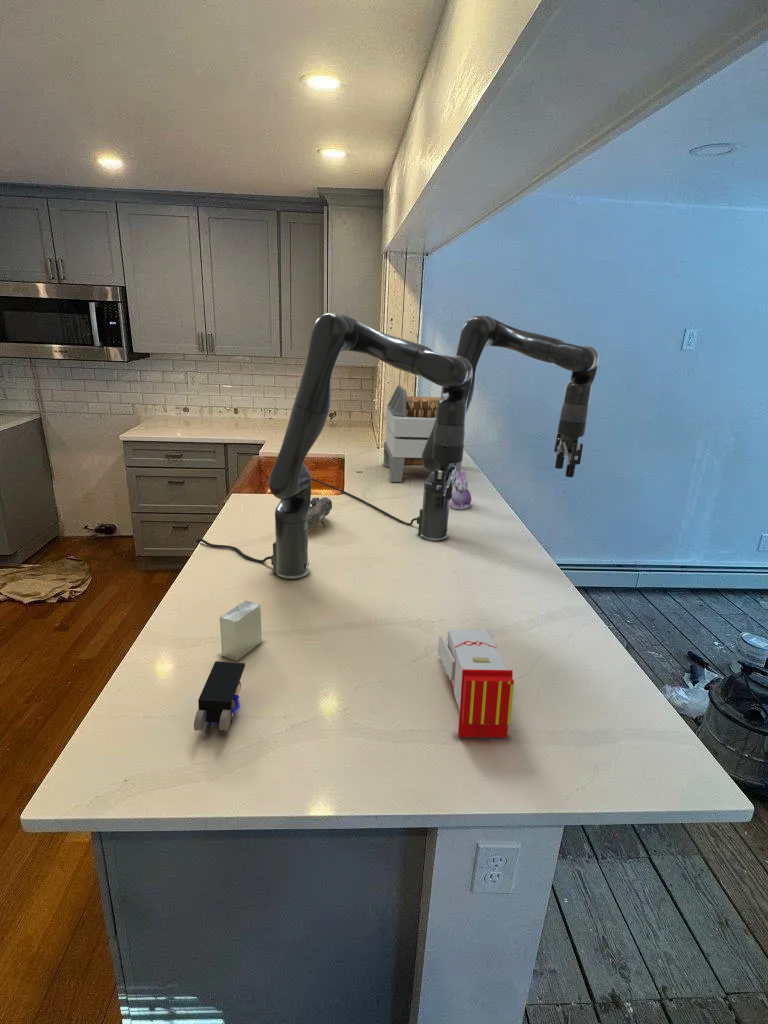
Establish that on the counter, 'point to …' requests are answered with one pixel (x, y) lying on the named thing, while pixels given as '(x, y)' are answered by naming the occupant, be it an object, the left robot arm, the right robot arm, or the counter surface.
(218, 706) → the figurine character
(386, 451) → the grey slatted box
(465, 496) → the figurine
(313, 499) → the fossil
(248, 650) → the block
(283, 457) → the left robot arm
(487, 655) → the toy
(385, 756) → the counter surface
